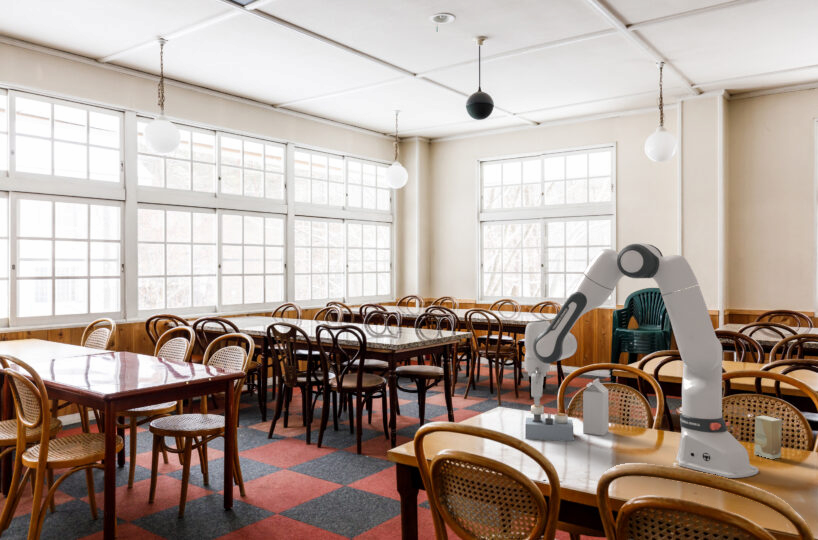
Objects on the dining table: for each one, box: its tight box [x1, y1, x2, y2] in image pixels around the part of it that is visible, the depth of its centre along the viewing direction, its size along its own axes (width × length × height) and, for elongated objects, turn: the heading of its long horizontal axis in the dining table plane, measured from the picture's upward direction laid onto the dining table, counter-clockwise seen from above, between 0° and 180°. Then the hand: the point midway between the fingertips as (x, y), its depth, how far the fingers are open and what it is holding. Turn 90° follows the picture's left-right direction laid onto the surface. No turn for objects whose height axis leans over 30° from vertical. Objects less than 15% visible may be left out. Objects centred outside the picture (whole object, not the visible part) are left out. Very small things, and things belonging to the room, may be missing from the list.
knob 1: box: [530, 404, 545, 423], centre depth 222 cm, size 4×4×8 cm
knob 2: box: [554, 412, 569, 424], centre depth 220 cm, size 4×4×8 cm
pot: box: [544, 413, 554, 425], centre depth 218 cm, size 3×3×3 cm
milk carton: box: [582, 377, 609, 437], centre depth 226 cm, size 7×7×19 cm
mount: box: [524, 417, 574, 442], centre depth 221 cm, size 16×10×5 cm, turn 78°
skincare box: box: [754, 415, 783, 460], centre depth 197 cm, size 6×4×12 cm
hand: (537, 405), depth 222 cm, fingers closed, pressing on knob 1
